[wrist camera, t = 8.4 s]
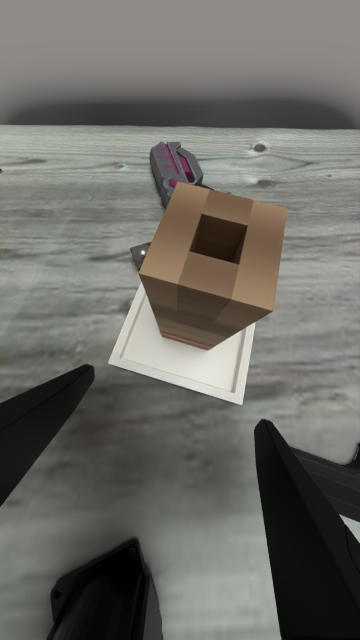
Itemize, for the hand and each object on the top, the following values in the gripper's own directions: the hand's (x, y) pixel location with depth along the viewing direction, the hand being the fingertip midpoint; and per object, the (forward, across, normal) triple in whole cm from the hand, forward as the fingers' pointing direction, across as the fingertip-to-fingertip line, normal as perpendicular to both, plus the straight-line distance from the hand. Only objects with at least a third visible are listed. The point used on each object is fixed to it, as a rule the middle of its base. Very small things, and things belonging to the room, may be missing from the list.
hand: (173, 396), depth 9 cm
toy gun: (+26, +6, -13) cm, 29 cm away
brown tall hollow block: (+10, 0, +1) cm, 10 cm away
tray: (+11, 0, +1) cm, 11 cm away
